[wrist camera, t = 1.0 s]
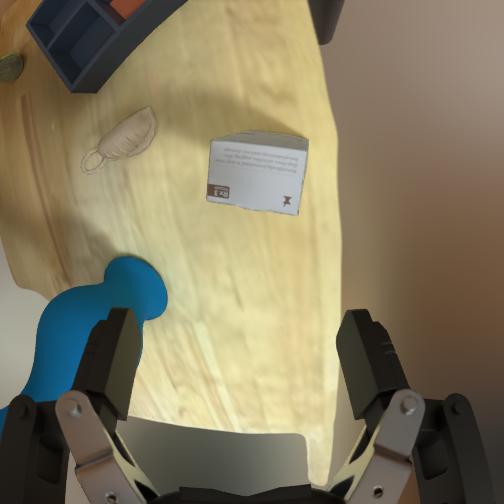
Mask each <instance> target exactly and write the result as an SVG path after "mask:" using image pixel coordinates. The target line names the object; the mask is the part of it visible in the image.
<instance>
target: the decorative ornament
mask: <svg viewBox="0 0 504 504" xmlns="http://www.w3.org/2000/svg"><path fill="white" fill-rule="evenodd" d="M155 129H156V121H155V116H154V113H153V111H152V109H151V107H150V106H149V107H147V108H145V109H143V110H141V111H138V112H136V113H134V114H132V115H131V116H129V117H128V118H126V119H125V120H124V121H122V122H121V123H120V124H118V125H117V126H116V127H115V128H114V129H112V130H111V131H110V132H109V133H108V134H107V135H106V136H105V137H104V138H103V139H102V140H101V141H100V142H99V144H98V147H95V148H93V149H91V150H90V151H89V152H87V154H86V155H85V156H84V157H83V159H82V162H81V170H82V172H83V173H85V174H88V175H89V174H94V173H96V172H98V171H99V170H100V169H101V168H102V167H103V166H104V165H105V164H106V162H107V160H110V161H115V160H118V159H121V158H123V157H125V156H132V155H136V154H140V153H141V152H142V151H143V150H145V149H146V148H147V147H148V146H149V145H150V143H151V139H152V138H153V137H154V130H155ZM95 152H98V153H99V155H100V156H101V157H103V160H102V162H101V163H100V164H99V165H98V166H97V167H96V168H94V169H92V170H87V169H86V168H85V163H86V161H87V159H88V158H89V156H91V155H92V154H93V153H95Z"/></svg>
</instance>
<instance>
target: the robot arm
mask: <svg viewBox="0 0 504 504" xmlns="http://www.w3.org/2000/svg"><path fill="white" fill-rule="evenodd" d="M141 345H142V337H141V332H140V329H139V326H138V323H137V321H136V318H135V314H134V311H133V309H132V308H126V307H112V308H111V309H110V312H109V314H108V317H107V320H101V319H100V320H99V321H98V322H97V324H96V325H95V326H94V327H93V328H92V329H91V332H90V335H89V337H88V340H87V343H86V346H85V348H84V352H83V354H82V357H81V360H80V363H79V366H78V369H77V372H76V375H75V378H74V381H73V384H72V387H71V389H70V390H69V391H67V392H65V393H63V394H62V395H61V396H60V397H59V398H58V400H53V401H42V402H35V401H34V400H33V399H32V398H31V397H30V396H28V395H18V396H16V397H15V398H14V399H13V400H12V401H11V402H10V404H9V407H8V410H7V414H6V418H5V422H4V426H3V430H2V435H1V440H0V504H65V493H66V480H67V469H68V461H69V453H70V451H71V453H72V455H73V457H74V459H75V462H76V467H75V469H74V470H75V475H76V477H77V479H78V481H79V483H80V485H81V487H82V489H83V491H84V493H85V495H86V496H87V498H88V500H89V502H90V503H91V504H397V502H398V500H399V498H400V496H401V494H402V491H403V489H404V487H405V485H406V482H407V480H408V478H409V475H410V472H411V470H412V462H411V461H410V460H409V458H410V454H411V452H412V456H413V461H414V467H415V472H416V477H417V483H418V489H419V496H420V502H421V504H496V503H495V497H494V491H493V486H492V481H491V476H490V471H489V466H488V462H487V458H486V454H485V450H484V447H483V443H482V439H481V436H480V432H479V429H478V426H477V423H476V419H475V416H474V414H473V410H472V408H471V405H470V402H469V401H468V399H467V398H466V397H465V396H463V395H461V394H458V393H454V394H451V395H449V396H448V397H447V398H446V399H445V400H432V399H424V398H423V397H422V396H421V395H420V394H419V393H418V392H416V391H415V390H412V389H411V388H410V387H409V385H408V382H407V380H406V377H405V374H404V372H403V369H402V367H401V364H400V361H399V359H398V356H397V354H396V353H395V349H394V346H393V344H391V339H390V337H389V335H388V332H387V330H386V329H385V328H384V327H383V326H382V325H381V324H380V323H379V322H378V321H377V322H373V321H372V319H371V316H370V314H369V312H368V310H367V309H354V310H347V311H346V313H345V316H344V318H343V320H342V323H341V326H340V328H339V331H338V333H337V336H336V348H337V352H338V356H339V359H340V363H341V367H342V370H343V374H344V378H345V382H346V386H347V390H348V393H349V398H350V402H351V406H352V410H353V414H354V418H355V420H359V419H365V423H366V425H365V427H364V428H363V430H362V432H361V434H360V437H359V438H358V440H357V442H356V444H355V446H354V448H353V450H352V452H351V454H350V455H349V457H348V459H347V461H346V463H345V464H344V466H343V467H342V468H341V470H340V471H339V472H338V473H337V475H336V476H335V477H334V479H333V480H332V482H331V483H330V485H329V487H328V488H327V490H326V491H323V490H320V489H315V488H311V484H306V485H299V486H289V487H279V488H276V489H273V490H269V491H266V492H262V493H258V494H255V495H251V496H240V495H235V494H231V493H226V492H222V491H218V490H214V489H204V488H188V487H180V488H179V491H174V492H170V493H167V494H164V495H160V494H159V493H158V491H157V490H156V488H155V487H154V486H153V484H152V483H151V482H150V480H149V479H148V478H147V476H146V475H145V474H144V473H143V472H142V471H141V470H140V468H139V467H138V465H137V464H136V462H135V461H134V459H133V457H132V456H131V454H130V453H129V451H128V449H127V448H126V446H125V444H124V442H123V441H122V439H121V437H120V436H119V433H118V432H117V430H116V424H117V420H122V421H126V420H127V415H128V409H129V404H130V398H131V393H132V388H133V383H134V378H135V373H136V369H137V364H138V360H139V355H140V351H141ZM374 495H375V496H374ZM116 501H117V503H116Z"/></svg>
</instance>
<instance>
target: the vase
mask: <svg viewBox="0 0 504 504" xmlns="http://www.w3.org/2000/svg"><path fill="white" fill-rule="evenodd" d="M167 301H168V297H167V291H166V288H165V285H164V283H163V281H162V280H161V278H160V277H159V275H158V274H157V273H156V272H155V271H154V270H153V269H152V268H151V267H150V266H149V265H147V264H146V263H144V262H142V261H140V260H138V259H135V258H131V257H120V258H116V259H114V260H113V261H111V262H110V263H109V264H108V266H107V268H106V270H105V273H104V281H103V282H102V283H100V284H96V285H85V286H78V287H74V288H71V289H68V290H66V291H64V292H62V293H61V294H59V295H57V296H56V297H55V298H54V299H52V300H51V301H50V303H49V304H48V305H47V307H46V308H45V309H44V311H43V313H42V315H41V318H40V321H39V324H38V328H37V335H36V347H35V356H34V363H33V367H32V371H31V374H30V377H29V380H28V382H27V384H26V386H25V388H24V389H23V390H22V392H21V393H20V394H19V395H28V396H30V397H31V398H32V399H33V400H34V401H35V402H42V401H53V400H58V398H59V397H60V396H61V395H62V394H63V393H65V392H67V391H69V390H70V389H71V387H72V384H73V381H74V378H75V375H76V372H77V369H78V366H79V363H80V360H81V357H82V354H83V352H84V348H85V346H86V343H87V340H88V337H89V335H90V332H91V329H92V328H93V327H94V326H95V325H96V324H97V322H98V321H99V320H100V319H101V320H107V317H108V314H109V312H110V309H111V308H112V307H126V308H132V309H133V311H134V314H135V318H136V321H137V323H138V326H139V329H140V332H141V337H142V345H141V351H140V355H139V360H138V364H137V367H138V365H139V362H140V358H141V354H142V348H143V323H144V321H145V320H151V319H155V318H157V317H159V316H160V315H161V314H162V313H163V312H164V311H165V309H166V306H167ZM8 407H9V405H8V406H7V407H5V408H3V409H1V410H0V440H1V435H2V430H3V426H4V422H5V418H6V414H7V410H8Z"/></svg>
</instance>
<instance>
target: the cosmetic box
mask: <svg viewBox="0 0 504 504" xmlns="http://www.w3.org/2000/svg"><path fill="white" fill-rule="evenodd" d="M308 146H309V140H308V139H305V138H302V137H297V136H293V135H287V134H281V133H274V132H266V131H254V130H250V131H245V132H241V133H236V134H232V135H228V136H224V137H221V138H217V139H213V140H211V143H210V157H209V171H208V183H207V196H206V200H207V201H208V202H214V203H220V204H227V205H233V206H238V207H241V208H244V209H248V210H254V211H269V212H275V213H281V214H287V215H293V216H298V213H299V206H300V200H301V194H302V189H303V183H304V178H305V172H306V166H307V157H308Z"/></svg>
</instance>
